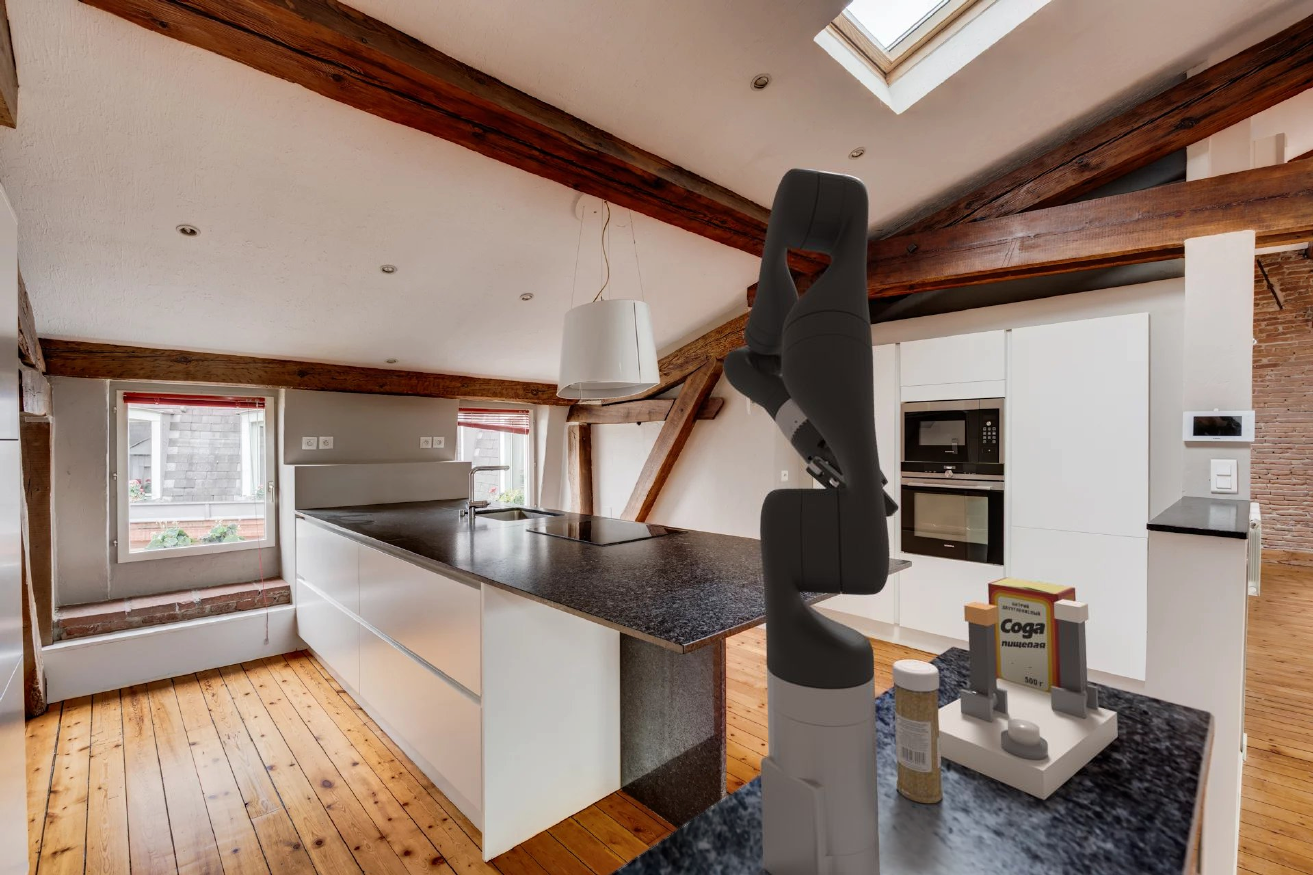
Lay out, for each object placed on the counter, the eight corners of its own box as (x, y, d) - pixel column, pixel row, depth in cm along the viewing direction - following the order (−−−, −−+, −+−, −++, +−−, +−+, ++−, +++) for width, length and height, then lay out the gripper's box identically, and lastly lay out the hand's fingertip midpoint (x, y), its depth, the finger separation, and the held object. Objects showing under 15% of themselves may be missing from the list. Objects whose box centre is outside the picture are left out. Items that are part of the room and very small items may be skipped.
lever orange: (990, 716, 71) (987, 609, 71) (967, 708, 73) (964, 605, 74) (1001, 710, 73) (997, 606, 73) (978, 702, 75) (974, 601, 75)
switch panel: (1044, 799, 59) (1042, 743, 60) (916, 745, 71) (915, 698, 71) (1117, 736, 72) (1115, 689, 72) (999, 699, 84) (997, 658, 84)
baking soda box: (991, 684, 89) (987, 580, 89) (1009, 674, 93) (1006, 575, 93) (1062, 705, 81) (1058, 592, 82) (1079, 693, 85) (1075, 585, 86)
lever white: (1083, 712, 72) (1079, 607, 72) (1057, 705, 74) (1054, 602, 74) (1091, 706, 73) (1087, 603, 74) (1066, 699, 75) (1062, 599, 76)
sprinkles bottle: (951, 795, 61) (947, 666, 61) (926, 810, 58) (922, 676, 58) (911, 775, 64) (908, 654, 65) (886, 789, 62) (883, 663, 62)
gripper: (792, 409, 82) (869, 498, 72) (853, 411, 90) (930, 492, 80) (766, 446, 86) (835, 536, 76) (826, 446, 94) (896, 527, 84)
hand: (883, 513), depth 78 cm, fingers open, 3 cm apart
